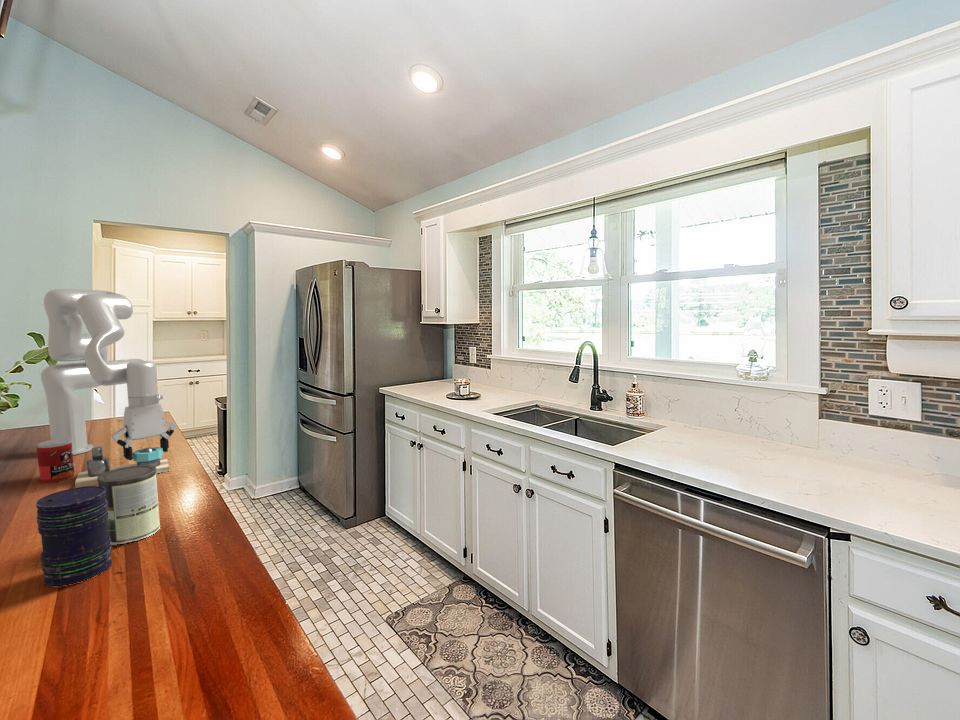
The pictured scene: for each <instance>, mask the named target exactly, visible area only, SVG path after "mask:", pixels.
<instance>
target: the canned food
mask: <svg viewBox="0 0 960 720" xmlns="http://www.w3.org/2000/svg"><path fill="white" fill-rule="evenodd" d="M36 454H37V455H36V456H37V464H38V473H39V480H40V481H41V482H43V483H56V482H61V481H65V480H67V479H70V477H71V478H72V477H74V476H75V464H74V455H73V451H72V442H71V440H70V439H56V440H51V439H48V440H45V441H42V442H39V443H36ZM64 479H65V480H64Z"/></svg>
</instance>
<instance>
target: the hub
mask: <svg viewBox="0 0 960 720" xmlns="http://www.w3.org/2000/svg"><path fill="white" fill-rule="evenodd" d="M141 449H142V453H147V452H152V451H153V447H145V448H141ZM160 460H161V458H159V459H155V460H151V461H144V462H136V461H135V462H136V463H137V465H151V466H155V467H157V466H159V465H160ZM136 463H135V464H136Z"/></svg>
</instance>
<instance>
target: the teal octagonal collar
mask: <svg viewBox="0 0 960 720" xmlns="http://www.w3.org/2000/svg"><path fill="white" fill-rule="evenodd" d="M152 448H153V451H152V452H147V453H142V449H143V448H140V449H137V450H134V451H132V453H133V459H132V461H134V462H144V461H151V460H155V459H159V458H160V459H161V458H162V457H164V451H163V448H160V447H158V446H157V447H155V446H154V447H152Z"/></svg>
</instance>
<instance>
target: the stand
mask: <svg viewBox="0 0 960 720" xmlns="http://www.w3.org/2000/svg"><path fill="white" fill-rule="evenodd" d="M91 457H92V458H89V459H87V460H86V465H87V466H86V467H87V468H86V469H87V471H88V476H89V477H97V476H99V475H101V474H103V473H105V472H108V471H110V468H111V467H110V458H109V456H104V454H103V447H102V446H93V448H92V450H91Z"/></svg>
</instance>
